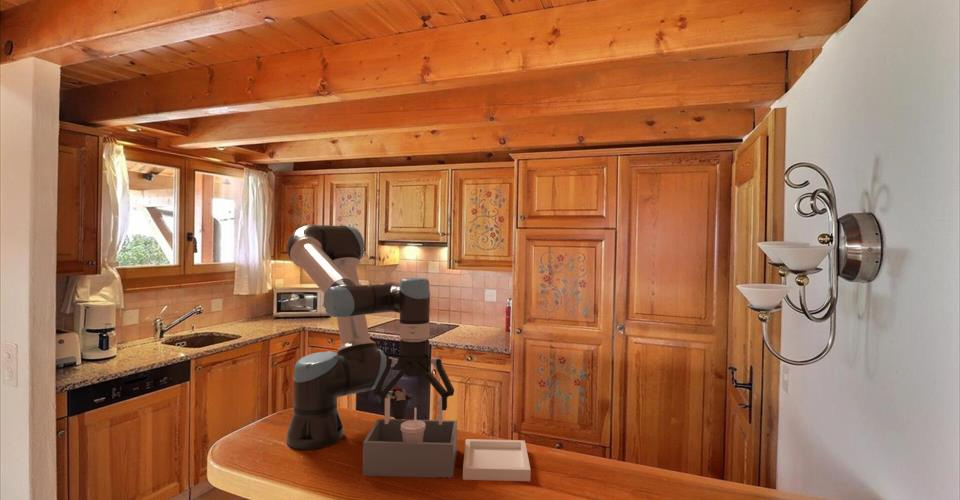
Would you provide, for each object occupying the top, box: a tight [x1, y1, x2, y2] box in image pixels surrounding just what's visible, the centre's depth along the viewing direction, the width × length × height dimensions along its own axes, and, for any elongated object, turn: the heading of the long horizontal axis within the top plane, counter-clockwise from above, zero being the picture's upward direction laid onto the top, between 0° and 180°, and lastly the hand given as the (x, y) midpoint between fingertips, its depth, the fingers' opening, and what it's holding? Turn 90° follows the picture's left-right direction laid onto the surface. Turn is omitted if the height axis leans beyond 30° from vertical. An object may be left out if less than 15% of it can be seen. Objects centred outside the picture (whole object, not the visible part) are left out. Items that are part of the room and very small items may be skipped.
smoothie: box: [400, 407, 426, 442], centre depth 115 cm, size 6×6×14 cm
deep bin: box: [362, 418, 458, 479], centre depth 115 cm, size 22×15×8 cm
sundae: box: [389, 384, 412, 419], centre depth 134 cm, size 7×7×15 cm
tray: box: [462, 438, 531, 482], centre depth 115 cm, size 16×16×3 cm
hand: (414, 422), depth 115 cm, fingers open, 13 cm apart
